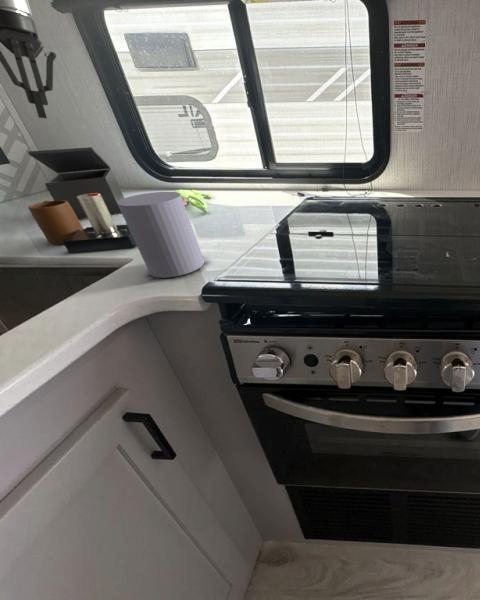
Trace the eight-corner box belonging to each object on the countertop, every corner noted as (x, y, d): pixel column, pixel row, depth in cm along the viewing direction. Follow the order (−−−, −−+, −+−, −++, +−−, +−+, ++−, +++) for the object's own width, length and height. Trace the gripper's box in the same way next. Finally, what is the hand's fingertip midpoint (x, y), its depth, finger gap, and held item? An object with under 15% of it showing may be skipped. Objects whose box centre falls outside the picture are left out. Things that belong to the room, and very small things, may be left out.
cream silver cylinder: (91, 235, 81) (71, 196, 76) (101, 229, 84) (82, 192, 79) (112, 233, 81) (93, 195, 77) (120, 227, 85) (103, 191, 80)
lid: (92, 150, 97) (91, 147, 97) (28, 154, 91) (27, 151, 91) (110, 168, 113) (110, 166, 113) (57, 173, 106) (56, 170, 106)
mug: (45, 236, 89) (23, 201, 84) (80, 228, 94) (62, 195, 89) (51, 247, 82) (28, 210, 77) (90, 238, 87) (70, 203, 82)
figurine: (137, 224, 97) (128, 205, 94) (157, 201, 118) (151, 185, 115) (206, 216, 102) (200, 198, 99) (214, 195, 124) (209, 180, 121)
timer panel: (69, 253, 79) (61, 240, 78) (92, 238, 88) (86, 226, 86) (133, 247, 82) (128, 235, 80) (150, 233, 90) (146, 222, 88)
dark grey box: (121, 213, 106) (105, 177, 101) (65, 220, 100) (44, 183, 94) (125, 201, 119) (111, 168, 113) (75, 207, 112) (57, 173, 107)
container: (141, 281, 67) (105, 207, 59) (162, 260, 75) (133, 193, 67) (195, 276, 68) (168, 203, 60) (210, 256, 77) (188, 190, 69)
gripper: (47, 24, 91) (72, 121, 100) (-28, 6, 82) (8, 114, 91) (49, 19, 86) (75, 121, 95) (-30, -1, 77) (8, 114, 86)
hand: (42, 117), depth 93 cm, fingers closed
